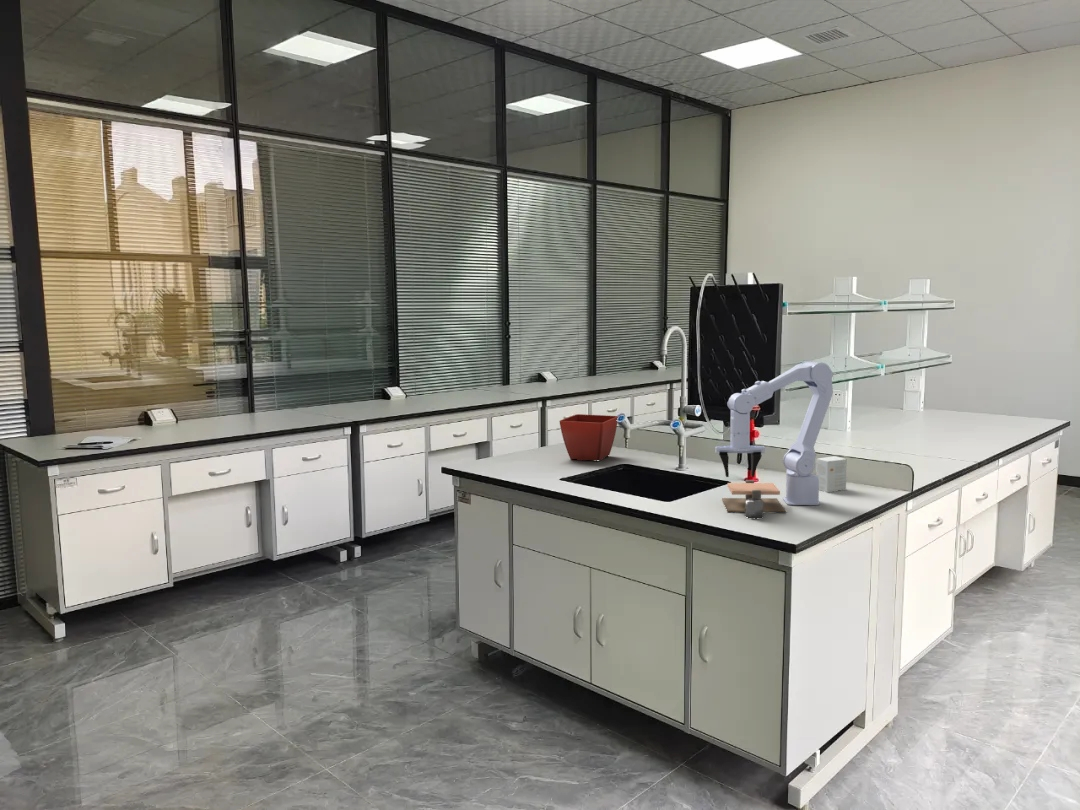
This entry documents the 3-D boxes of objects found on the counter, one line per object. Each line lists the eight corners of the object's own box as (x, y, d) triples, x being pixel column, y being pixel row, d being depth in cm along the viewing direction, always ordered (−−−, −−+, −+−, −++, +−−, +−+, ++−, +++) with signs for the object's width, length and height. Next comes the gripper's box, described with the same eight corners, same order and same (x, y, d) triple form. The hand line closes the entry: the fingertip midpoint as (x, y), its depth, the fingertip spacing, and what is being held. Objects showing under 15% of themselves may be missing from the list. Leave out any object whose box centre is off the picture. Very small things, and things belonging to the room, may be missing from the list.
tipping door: (773, 485, 240) (773, 482, 240) (780, 494, 229) (780, 491, 229) (727, 485, 242) (727, 482, 242) (732, 494, 231) (732, 491, 231)
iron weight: (761, 514, 227) (761, 498, 226) (764, 519, 222) (764, 502, 221) (744, 514, 227) (744, 498, 227) (746, 519, 222) (746, 502, 222)
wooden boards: (776, 500, 243) (777, 480, 242) (786, 512, 228) (786, 491, 227) (721, 499, 245) (722, 480, 244) (727, 512, 230) (727, 491, 229)
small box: (834, 486, 258) (835, 455, 257) (846, 490, 253) (847, 458, 252) (815, 489, 256) (815, 458, 254) (827, 492, 250) (827, 461, 249)
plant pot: (603, 464, 305) (602, 422, 303) (559, 461, 313) (558, 420, 311) (619, 455, 322) (619, 415, 320) (577, 452, 330) (576, 414, 328)
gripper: (717, 434, 231) (717, 479, 232) (766, 434, 229) (766, 479, 231) (714, 431, 238) (714, 474, 239) (762, 430, 236) (762, 474, 238)
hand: (739, 476), depth 236 cm, fingers open, 7 cm apart
